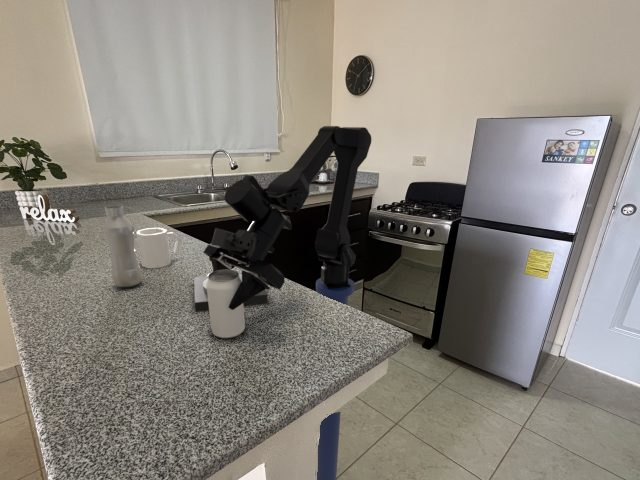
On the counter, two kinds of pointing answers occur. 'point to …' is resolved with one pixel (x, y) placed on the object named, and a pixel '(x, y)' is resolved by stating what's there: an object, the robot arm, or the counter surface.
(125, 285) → the plastic bottle
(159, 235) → the mug
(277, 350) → the counter surface
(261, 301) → the scale
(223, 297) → the can
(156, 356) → the counter surface
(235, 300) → the robot arm
